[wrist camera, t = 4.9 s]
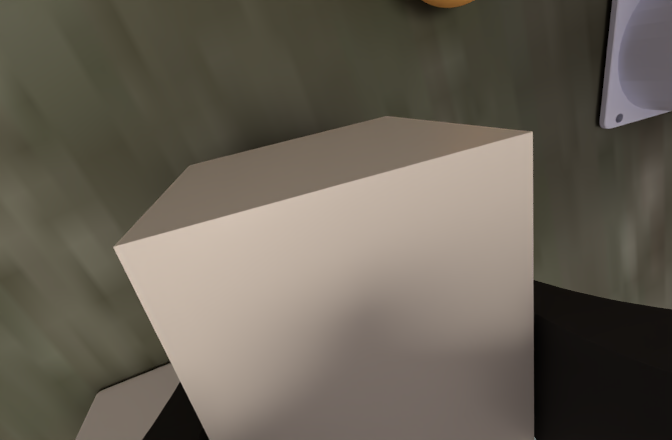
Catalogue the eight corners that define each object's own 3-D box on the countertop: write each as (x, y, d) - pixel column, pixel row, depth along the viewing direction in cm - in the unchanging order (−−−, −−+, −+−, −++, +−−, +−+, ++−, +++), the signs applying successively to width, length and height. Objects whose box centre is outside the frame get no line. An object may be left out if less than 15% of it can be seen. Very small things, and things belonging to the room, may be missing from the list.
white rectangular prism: (189, 165, 10) (113, 247, 4) (386, 115, 11) (532, 131, 5) (279, 407, 13) (301, 624, 8) (423, 355, 14) (534, 517, 9)
